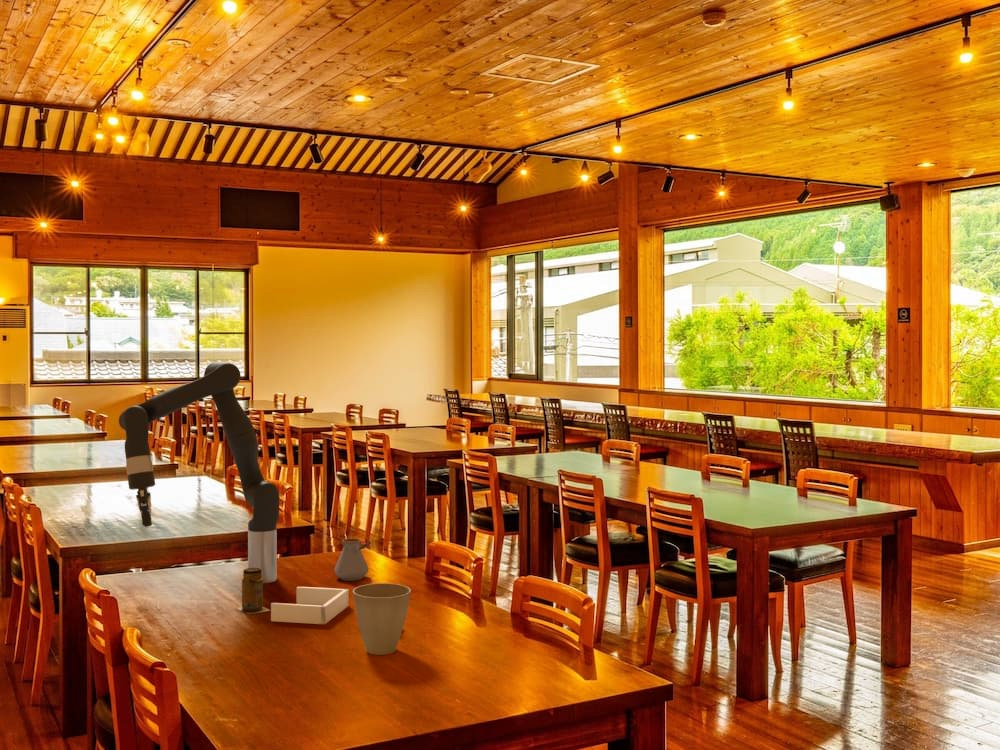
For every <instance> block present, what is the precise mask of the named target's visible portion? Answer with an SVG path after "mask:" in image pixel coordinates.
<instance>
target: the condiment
mask: <svg viewBox="0 0 1000 750" xmlns="http://www.w3.org/2000/svg"><path fill="white" fill-rule="evenodd" d="M261 576H262V574H261V569H260V568H248V567H247V568H245V569H243V575H242V580H241V607H236V608H235V609H236V610H238V611H240V612H243V613H245V614H247V615H252V614H253V615H255V614H260V613H261V614H262V613H265V612H269V611H270V612H271V609H269V608H267V607H264V606H263V605H264V604H263V601H264V583H263V579H262V577H261Z"/></svg>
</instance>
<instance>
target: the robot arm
mask: <svg viewBox="0 0 1000 750" xmlns="http://www.w3.org/2000/svg"><path fill="white" fill-rule="evenodd" d="M203 372H204V373H203V376H202V377H200V378H198V379H196V380H193V381H190V382H187V383H184V384H181V385H178V386H175V387H172V388H169V389H167V390H164V391H162V392H161V393H157V394H156V395H154V396H152V397H150V398H149V399H147V400H146V401H144V402H141V403H139V404H137V405H131V406H128V407H127V408H126V409H124V410H123V411H122V412H121V413H120V415H119V417H118V424H119V427H120V428H121V429H122V430H124V431H125V438H126V439H125V442H124V455H125V460H126V463H125V464H126V466H125V468H126V475H127V476H126V477H127V481H128V483H127V484H128V489H129V490H131V491H133V490H137V491H136V494H135V498H136V501H137V507H138V510H139V512H140V515H141V522H142V525H143V526H144V527H152V525H153V523H152V515H151V512H152V495H151V492H148V488H151V487H154V486H155V485H156V481H155V480H156V479H155V471H154V465H153V460H152V457H151V449H150V444H149V432H150V431H149V427H150V426H149V424H151V423H153V422H154V421H156V420H158V419H161V418H164V417H167V416H168V415H170V414H172V413H175V412H176V411H179V410H180V409H183V408H185V407H187V406H189V405H191V404H193V403H195V402H197V401H200V400H203V399H204V398H208V397H210V396H211V398H212V401H214V405H215V407H216V410H217V413H218V417H219V419H220V422H221V426H222V429H223V432H224V435H225V438H226V440H227V441H226V442H227V444H228V447H229V450H230V452H231V455H232V457H233V461H234V464H235V466H236V469H237V471H238V475H239V479H240V483H241V488H242V493H243V498H244V499H245V502H246V503H247V504H248V505H249V506H251V507H252V508H253V510H252V513H253V514H252V517H251V519H250V520H249V521H248V524H247V540H248V541H247V548H248V549H247V556H248V557H247V559H248V560H247V568H260V569H261V574H262V576H261V577H262V579H263V584H271V583H274V582H277V572H278V571H277V568H278V565H277V563H278V562H277V561H278V555H277V551H278V549H277V548H278V546H277V545H278V543H277V539H278V538H277V534H278V533H277V529H278V528H277V525H278V524H277V523H278V522H279V518H280V504H281V503H280V500H281V499H280V491H279V488H278V486H276V484H274V483H272V482H270V481H269V482H268V481H266V480H265V478H264V476H263V473H262V471H261V469H260V465H259V442H258V437H257V435H256V434H257V433H256V431H255V428H254V425H253V423H252V421H251V419H250V418H249V416H248V414H247V413H246V410H244V409H243V407H242V405H240V403H239V401H238V399H237V397H236V393H235V390H234V389H235V388H236V387H237V386H238V385H239V383H240V381H241V372H240V369H239V367H238V366H236V365H235V364H233V363H231V362H228V361H227V362H225V361H215V362H211V363H208V364H207V366H206V368H205V369H204V371H203Z"/></svg>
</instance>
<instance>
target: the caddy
mask: <svg viewBox="0 0 1000 750" xmlns="http://www.w3.org/2000/svg"><path fill="white" fill-rule="evenodd" d="M349 592H350V589H349V588H333V587H331V588H330V587H315V586H314V587H312V586H311V587H310V586H297V587H296V603H283V602H282V603H281V602H271V603H270V610H271V611H270V621H271V622H277V623H279V622H281V623H298V624H309V625H310V624H314V625H315V624H316V625H326V624H327V623H329V622H330V621H331V620H332V619H334V618H335V617H336V616H338V615H339V614H341V612H343V611H344V610H345V609H346V608H348V607H349V606H350V605H349V600H350V599H349V597H350V596H349V595H350V593H349Z"/></svg>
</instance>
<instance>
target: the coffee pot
mask: <svg viewBox="0 0 1000 750" xmlns="http://www.w3.org/2000/svg"><path fill="white" fill-rule="evenodd" d="M361 542H362V539H360V538H344V539H342V540H341V543H342V545H343V548H342V551H341V552H340V554H339V555H340V556H339V558H338V560H337V562H336V565H335V567H334V573H335V576H337V577H338V578H339V580H343V581H347V582H348V581H349V582H351V581H359V580H362V579H364V577H365V576H366V575H367V574H368V572H369V566H368V564H367V562H366V559H365V557H364V555H363V552H362V549H365V548H368V549H372V548H373V547H374V544H373V542H371V541H368V542H365V543H363V544H362V545H360V544H361ZM371 544H372V546H371V547H369V546H370V545H371Z"/></svg>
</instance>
